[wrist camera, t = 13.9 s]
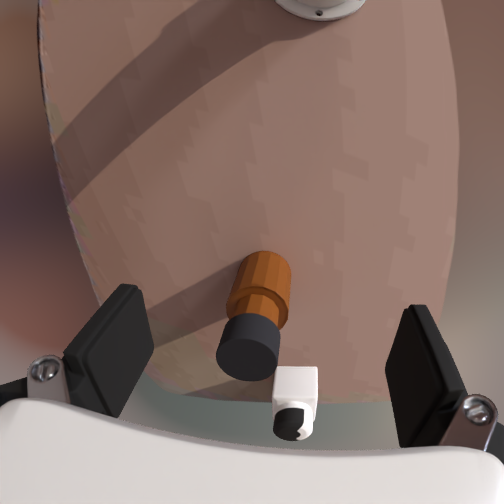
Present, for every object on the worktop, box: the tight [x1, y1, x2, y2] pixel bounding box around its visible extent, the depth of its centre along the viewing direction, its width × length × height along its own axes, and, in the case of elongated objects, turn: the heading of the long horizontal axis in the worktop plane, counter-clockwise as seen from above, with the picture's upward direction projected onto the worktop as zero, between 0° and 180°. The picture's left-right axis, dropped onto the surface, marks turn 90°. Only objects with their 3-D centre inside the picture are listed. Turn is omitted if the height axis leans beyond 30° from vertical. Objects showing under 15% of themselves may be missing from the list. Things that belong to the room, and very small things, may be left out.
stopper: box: [216, 313, 280, 381], centre depth 33 cm, size 6×6×8 cm
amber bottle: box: [226, 251, 291, 330], centre depth 39 cm, size 7×7×13 cm
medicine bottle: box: [272, 366, 318, 441], centre depth 48 cm, size 7×7×12 cm
